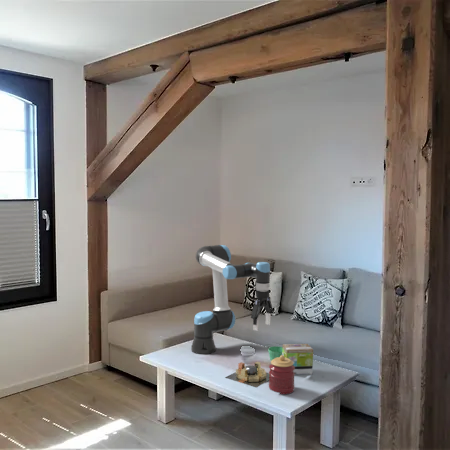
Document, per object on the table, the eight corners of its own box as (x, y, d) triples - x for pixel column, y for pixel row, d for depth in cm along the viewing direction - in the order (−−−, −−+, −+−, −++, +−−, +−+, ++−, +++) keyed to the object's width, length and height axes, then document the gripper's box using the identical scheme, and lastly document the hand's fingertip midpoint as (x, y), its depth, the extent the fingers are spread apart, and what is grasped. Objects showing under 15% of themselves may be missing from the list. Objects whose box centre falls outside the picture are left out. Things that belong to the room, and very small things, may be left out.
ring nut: (230, 376, 258) (230, 366, 258) (247, 368, 271) (247, 358, 270) (255, 384, 249) (255, 374, 248) (271, 375, 261) (271, 365, 261)
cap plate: (224, 379, 258) (224, 368, 257) (246, 368, 274) (246, 357, 273) (256, 389, 246) (256, 377, 245) (276, 377, 262) (277, 366, 261)
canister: (296, 394, 240) (297, 359, 239) (271, 395, 239) (271, 360, 238) (291, 383, 253) (292, 350, 252) (266, 384, 252) (267, 351, 251)
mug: (278, 370, 271) (278, 353, 270) (264, 366, 277) (264, 349, 277) (293, 364, 281) (294, 347, 280) (280, 359, 288) (280, 343, 287)
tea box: (286, 376, 263) (286, 349, 262) (281, 369, 273) (281, 343, 271) (312, 375, 265) (313, 348, 264) (306, 368, 275) (307, 342, 274)
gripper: (256, 295, 258) (256, 334, 260) (279, 287, 279) (278, 323, 280) (245, 293, 262) (244, 331, 264) (267, 285, 283) (267, 321, 285)
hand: (261, 327), depth 272 cm, fingers open, 13 cm apart
